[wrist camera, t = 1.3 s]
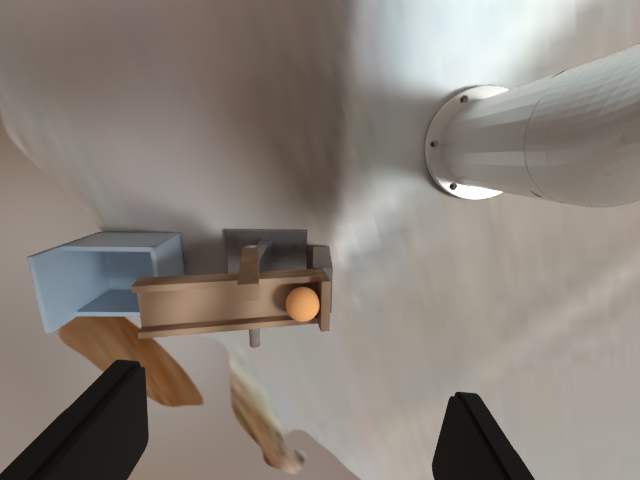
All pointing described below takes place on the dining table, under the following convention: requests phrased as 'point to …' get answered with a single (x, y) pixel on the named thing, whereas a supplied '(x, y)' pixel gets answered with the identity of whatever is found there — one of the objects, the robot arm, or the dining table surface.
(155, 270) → the bin
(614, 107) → the robot arm
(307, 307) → the ball
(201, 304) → the lever
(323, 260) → the trestle
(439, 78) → the dining table surface
